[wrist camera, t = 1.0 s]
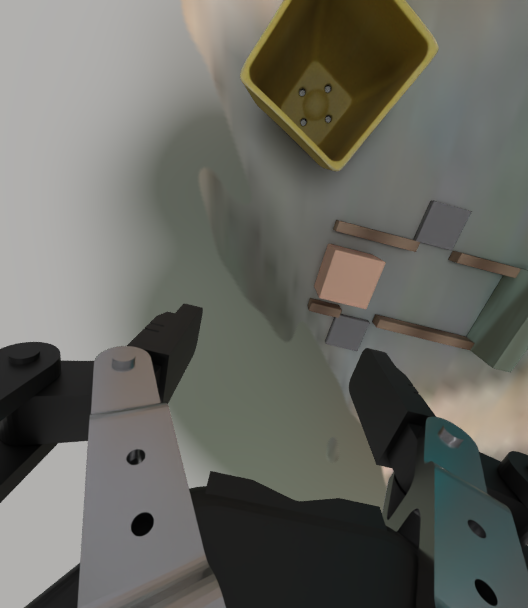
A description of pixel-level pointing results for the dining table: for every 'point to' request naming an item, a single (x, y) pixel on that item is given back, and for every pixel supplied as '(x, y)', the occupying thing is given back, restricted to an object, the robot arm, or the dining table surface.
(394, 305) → the dining table surface
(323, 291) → the terracotta block
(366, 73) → the flower pot
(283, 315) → the dining table surface
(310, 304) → the lane
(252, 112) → the dining table surface
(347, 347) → the trap pads
